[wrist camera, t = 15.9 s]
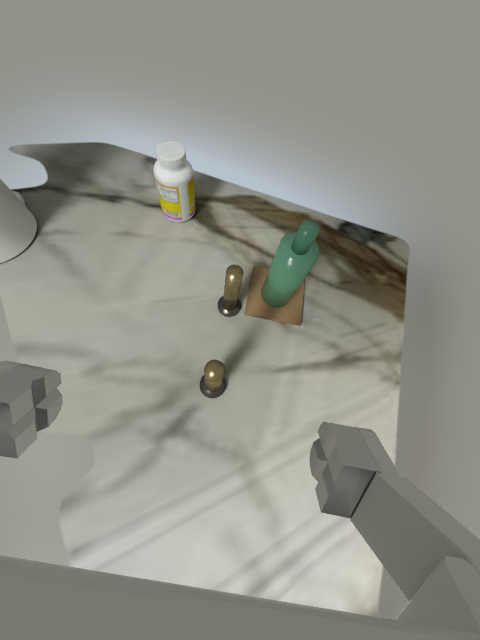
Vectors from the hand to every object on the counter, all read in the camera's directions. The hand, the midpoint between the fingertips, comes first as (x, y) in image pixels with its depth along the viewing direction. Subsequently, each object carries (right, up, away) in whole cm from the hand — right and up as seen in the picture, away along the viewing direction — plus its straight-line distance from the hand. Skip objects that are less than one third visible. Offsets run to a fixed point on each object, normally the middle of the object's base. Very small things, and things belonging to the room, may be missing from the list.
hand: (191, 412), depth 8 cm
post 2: (0, +5, +39) cm, 39 cm away
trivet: (+8, +7, +41) cm, 42 cm away
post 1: (-3, -7, +33) cm, 34 cm away
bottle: (+8, +8, +40) cm, 41 cm away
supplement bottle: (-11, +25, +46) cm, 54 cm away
